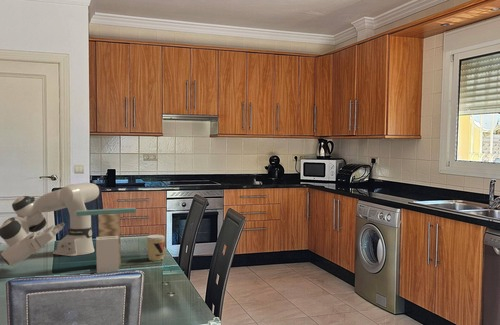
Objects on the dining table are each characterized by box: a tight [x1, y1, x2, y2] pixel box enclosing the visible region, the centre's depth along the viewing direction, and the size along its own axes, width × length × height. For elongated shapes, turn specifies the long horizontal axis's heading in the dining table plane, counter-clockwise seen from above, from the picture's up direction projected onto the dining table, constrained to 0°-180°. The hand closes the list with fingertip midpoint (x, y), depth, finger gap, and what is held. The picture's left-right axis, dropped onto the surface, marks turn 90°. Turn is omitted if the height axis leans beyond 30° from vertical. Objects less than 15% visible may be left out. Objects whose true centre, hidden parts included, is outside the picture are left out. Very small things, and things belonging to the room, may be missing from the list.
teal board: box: [77, 207, 137, 216], centre depth 224 cm, size 28×4×2 cm, turn 108°
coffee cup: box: [146, 234, 166, 261], centre depth 237 cm, size 9×9×12 cm
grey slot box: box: [95, 236, 120, 274], centre depth 215 cm, size 10×7×16 cm
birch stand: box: [97, 214, 122, 267], centre depth 225 cm, size 10×8×26 cm
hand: (63, 225), depth 218 cm, fingers open, 8 cm apart
